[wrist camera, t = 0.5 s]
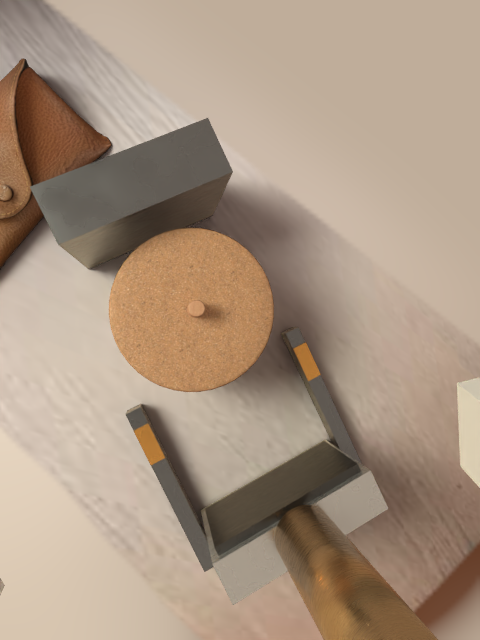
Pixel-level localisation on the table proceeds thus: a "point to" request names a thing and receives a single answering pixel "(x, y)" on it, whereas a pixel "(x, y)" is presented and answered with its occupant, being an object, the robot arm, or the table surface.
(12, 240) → the sunglasses case
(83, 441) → the table surface
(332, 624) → the gold upright rod
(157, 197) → the bench
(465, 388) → the robot arm
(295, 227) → the table surface
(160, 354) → the lidded jar
